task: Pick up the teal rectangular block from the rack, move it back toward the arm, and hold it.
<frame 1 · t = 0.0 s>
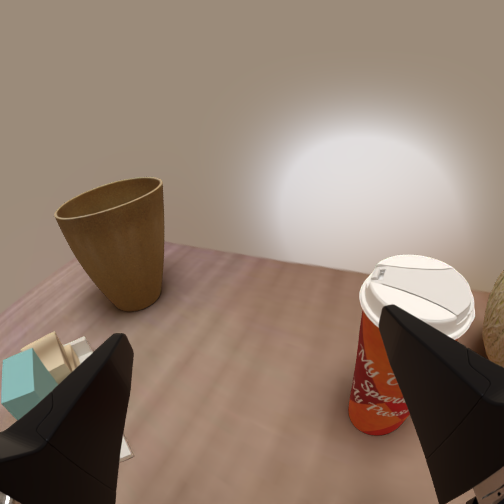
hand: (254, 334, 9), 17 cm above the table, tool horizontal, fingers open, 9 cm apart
teal rectangular block: (74, 438, 19), point 1 cm above the table, touching rack
paper cup: (377, 411, 21), on the table
rack: (78, 440, 19), on the table
plant pot: (137, 298, 40), on the table
offcut upper: (51, 371, 23), point 3 cm above the table, touching offcut lower
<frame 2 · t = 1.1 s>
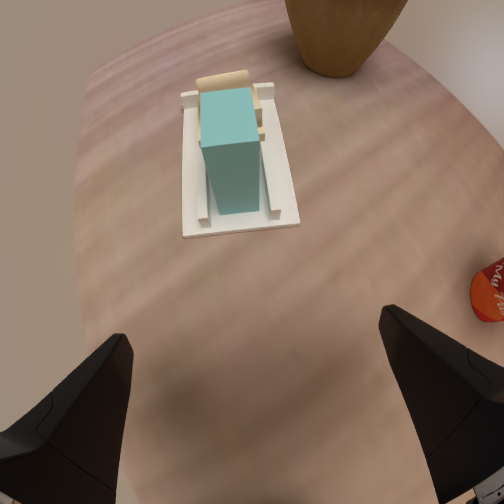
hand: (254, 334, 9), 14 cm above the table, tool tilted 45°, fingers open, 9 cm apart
teal rectangular block: (237, 188, 26), point 1 cm above the table, touching rack
paper cup: (486, 296, 23), on the table
rack: (237, 191, 26), on the table
plant pot: (328, 64, 33), on the table
offcut upper: (228, 110, 26), point 3 cm above the table, touching offcut lower
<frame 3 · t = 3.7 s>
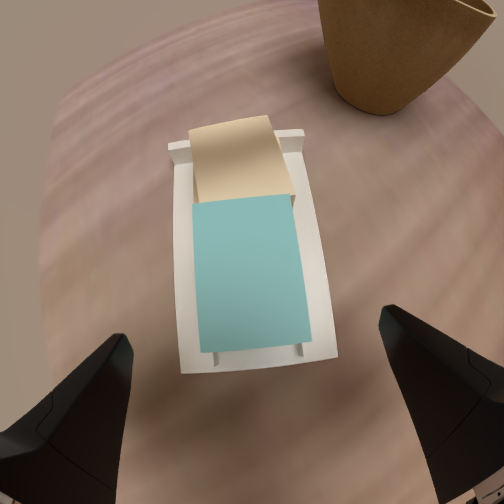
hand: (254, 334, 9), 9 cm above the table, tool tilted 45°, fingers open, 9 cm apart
teal rectangular block: (253, 306, 18), point 1 cm above the table, touching rack
rack: (253, 307, 19), on the table
plant pot: (367, 94, 25), on the table
offcut upper: (239, 181, 18), point 3 cm above the table, touching offcut lower
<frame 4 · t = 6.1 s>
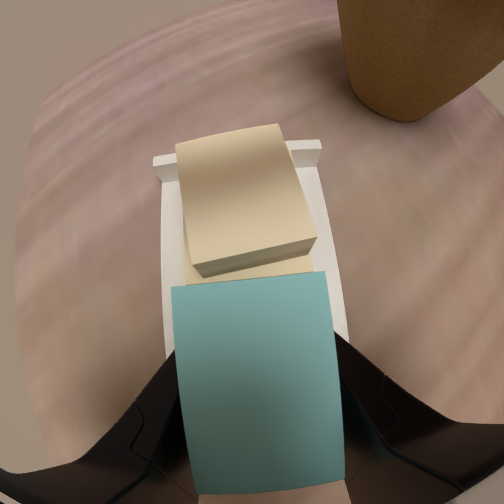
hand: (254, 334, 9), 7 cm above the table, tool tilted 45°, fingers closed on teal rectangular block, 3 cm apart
offcut lower: (244, 228, 17), point 1 cm above the table, touching offcut upper, rack
teal rectangular block: (258, 361, 15), point 1 cm above the table, touching gripper, rack
rack: (258, 361, 15), on the table
plant pot: (387, 96, 21), on the table
offcut upper: (242, 209, 14), point 3 cm above the table, touching offcut lower
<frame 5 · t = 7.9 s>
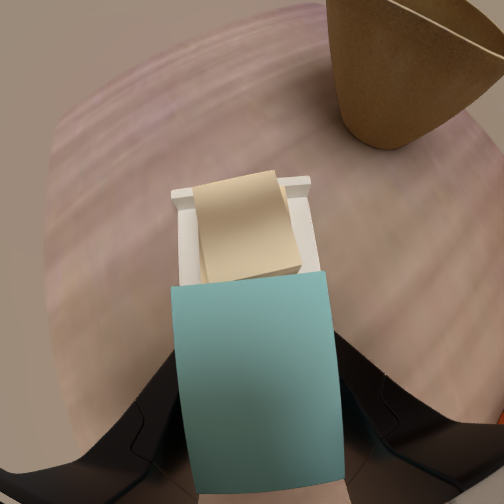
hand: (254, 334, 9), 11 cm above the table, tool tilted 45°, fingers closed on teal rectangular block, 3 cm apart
offcut lower: (247, 250, 21), point 1 cm above the table, touching offcut upper, rack
teal rectangular block: (258, 361, 15), point 5 cm above the table, touching gripper
rack: (258, 356, 19), on the table
plant pot: (374, 124, 25), on the table
offcut upper: (245, 238, 18), point 3 cm above the table, touching offcut lower
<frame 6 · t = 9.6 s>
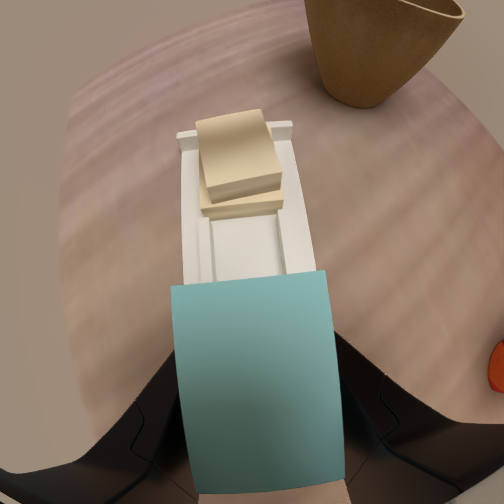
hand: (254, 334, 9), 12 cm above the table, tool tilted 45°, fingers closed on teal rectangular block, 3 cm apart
offcut lower: (239, 179, 24), point 1 cm above the table, touching offcut upper, rack
teal rectangular block: (258, 361, 15), point 6 cm above the table, touching gripper
paper cup: (502, 366, 19), on the table
rack: (249, 268, 22), on the table
plant pot: (351, 89, 28), on the table
offcut upper: (237, 163, 22), point 3 cm above the table, touching offcut lower
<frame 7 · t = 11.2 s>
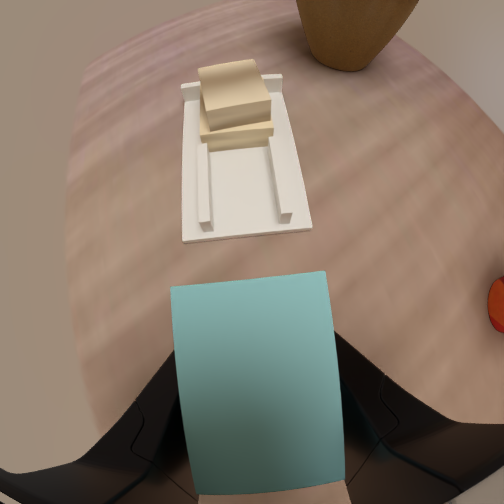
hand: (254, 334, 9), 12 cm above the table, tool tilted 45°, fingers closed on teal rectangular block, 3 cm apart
offcut lower: (235, 120, 25), point 1 cm above the table, touching offcut upper, rack
teal rectangular block: (258, 362, 15), point 6 cm above the table, touching gripper
paper cup: (502, 306, 20), on the table
rack: (242, 191, 24), on the table
plant pot: (338, 57, 30), on the table
offcut upper: (233, 102, 23), point 3 cm above the table, touching offcut lower
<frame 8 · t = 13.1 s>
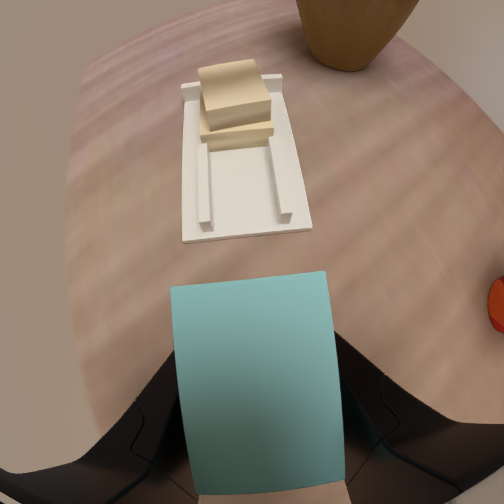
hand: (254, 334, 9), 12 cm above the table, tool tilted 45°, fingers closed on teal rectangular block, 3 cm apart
offcut lower: (235, 120, 25), point 1 cm above the table, touching offcut upper, rack
teal rectangular block: (258, 362, 15), point 6 cm above the table, touching gripper
paper cup: (502, 306, 20), on the table
rack: (242, 191, 24), on the table
plant pot: (338, 57, 30), on the table
offcut upper: (233, 102, 23), point 3 cm above the table, touching offcut lower
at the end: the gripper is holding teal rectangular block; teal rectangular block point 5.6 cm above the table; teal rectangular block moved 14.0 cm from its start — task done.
